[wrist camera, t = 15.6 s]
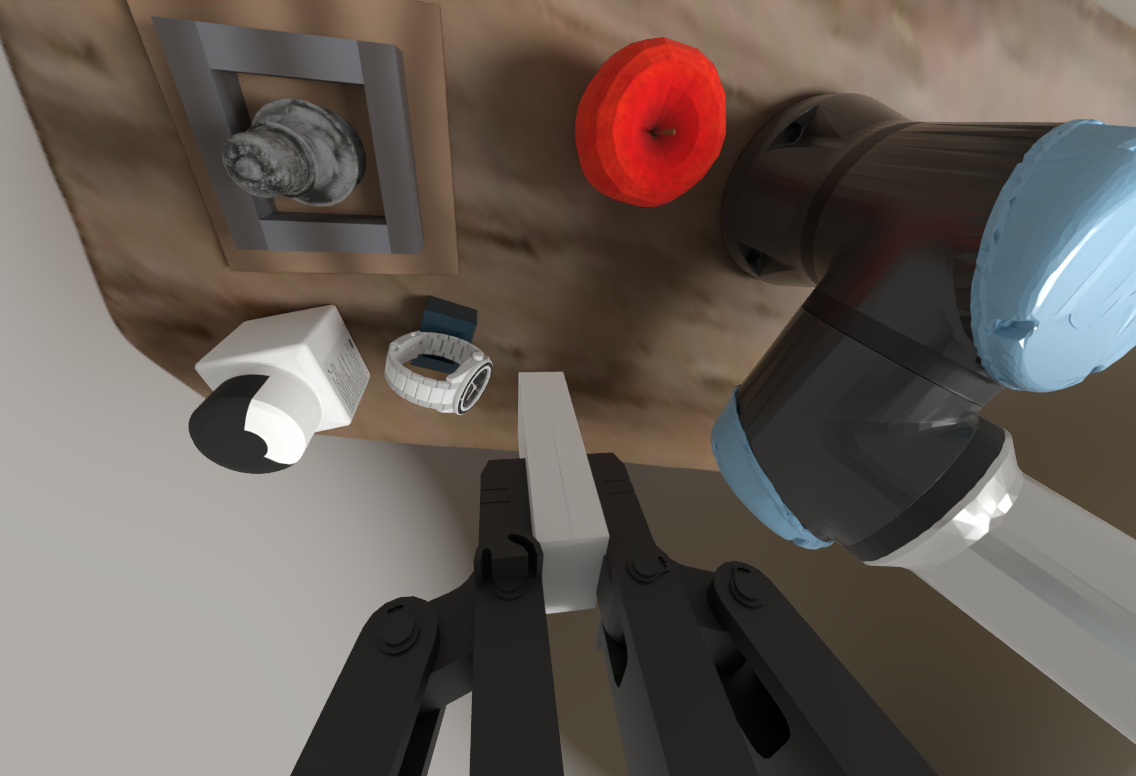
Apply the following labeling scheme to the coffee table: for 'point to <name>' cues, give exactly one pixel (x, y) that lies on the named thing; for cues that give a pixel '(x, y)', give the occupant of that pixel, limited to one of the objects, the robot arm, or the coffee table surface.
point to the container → (277, 389)
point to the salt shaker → (296, 154)
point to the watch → (440, 360)
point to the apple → (651, 122)
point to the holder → (327, 79)
